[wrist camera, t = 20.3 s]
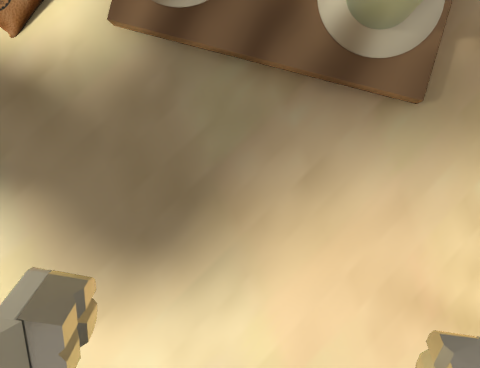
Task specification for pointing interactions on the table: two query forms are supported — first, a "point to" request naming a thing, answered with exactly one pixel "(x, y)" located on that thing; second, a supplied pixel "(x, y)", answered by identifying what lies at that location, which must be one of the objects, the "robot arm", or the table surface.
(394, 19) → the slim bottle
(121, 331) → the table surface
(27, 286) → the robot arm
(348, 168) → the table surface
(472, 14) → the table surface
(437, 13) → the rail stand
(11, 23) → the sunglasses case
